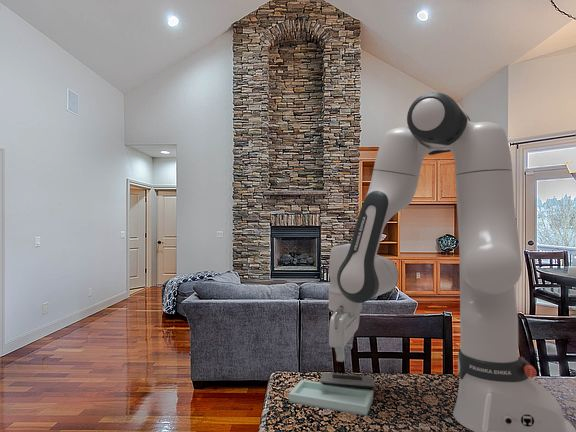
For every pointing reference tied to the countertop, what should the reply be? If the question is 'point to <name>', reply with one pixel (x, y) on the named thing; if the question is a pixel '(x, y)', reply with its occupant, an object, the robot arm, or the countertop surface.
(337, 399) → the parts tray
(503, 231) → the robot arm
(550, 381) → the countertop surface
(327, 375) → the electrical outlet
